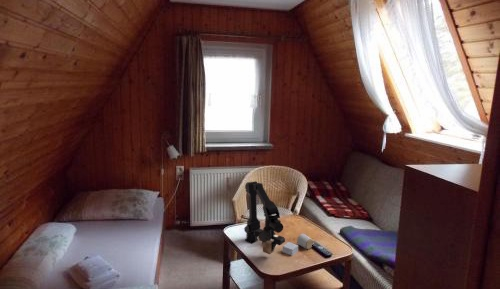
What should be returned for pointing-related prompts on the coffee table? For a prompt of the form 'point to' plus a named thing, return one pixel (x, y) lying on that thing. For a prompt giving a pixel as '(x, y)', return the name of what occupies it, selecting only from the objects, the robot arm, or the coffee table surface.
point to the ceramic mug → (305, 241)
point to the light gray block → (290, 248)
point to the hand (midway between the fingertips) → (268, 249)
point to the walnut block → (267, 247)
